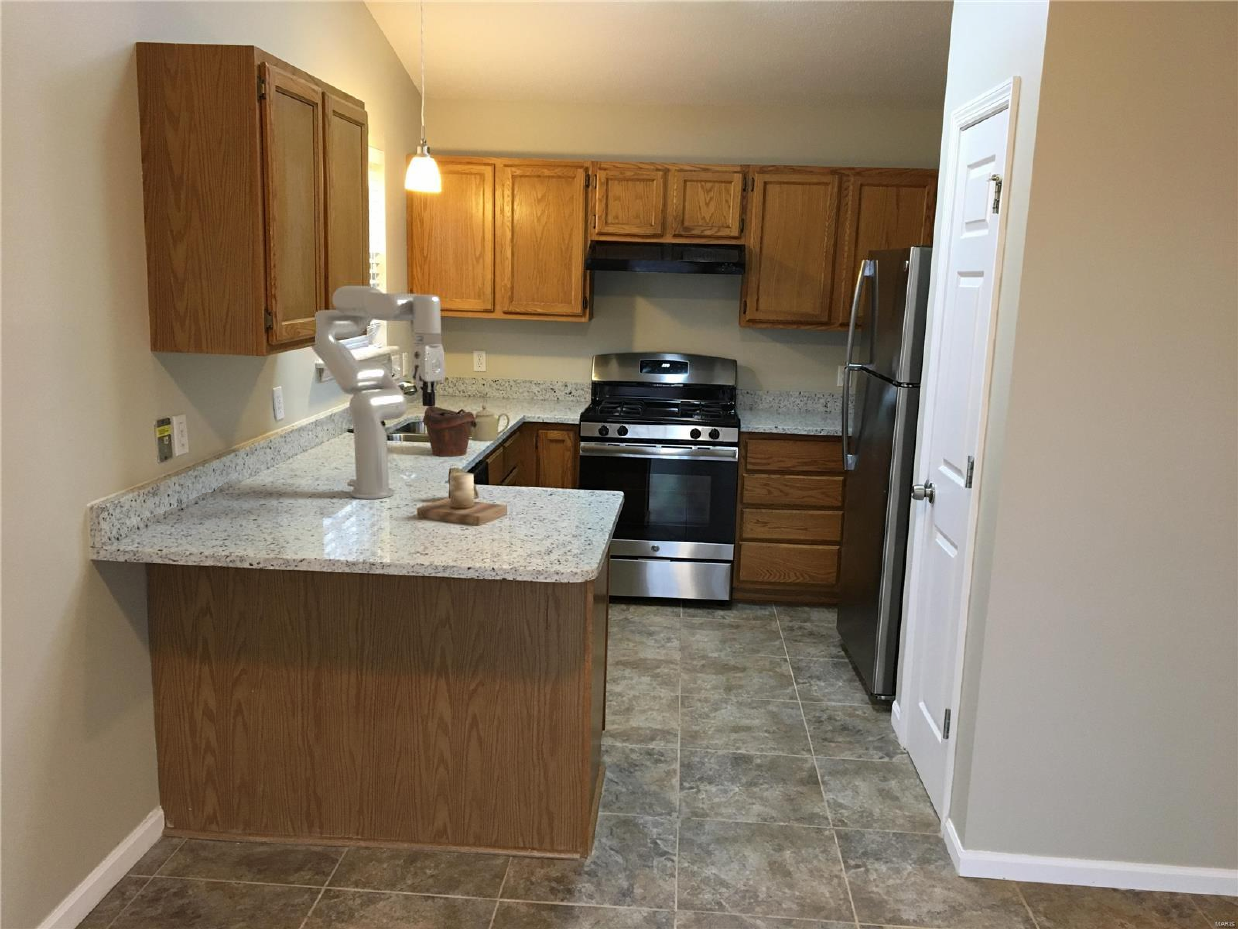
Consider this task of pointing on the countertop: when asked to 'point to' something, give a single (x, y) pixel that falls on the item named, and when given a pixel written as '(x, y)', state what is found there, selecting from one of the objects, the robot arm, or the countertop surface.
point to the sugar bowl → (487, 425)
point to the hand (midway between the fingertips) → (428, 405)
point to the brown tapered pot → (448, 430)
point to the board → (462, 512)
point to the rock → (457, 470)
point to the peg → (461, 490)
